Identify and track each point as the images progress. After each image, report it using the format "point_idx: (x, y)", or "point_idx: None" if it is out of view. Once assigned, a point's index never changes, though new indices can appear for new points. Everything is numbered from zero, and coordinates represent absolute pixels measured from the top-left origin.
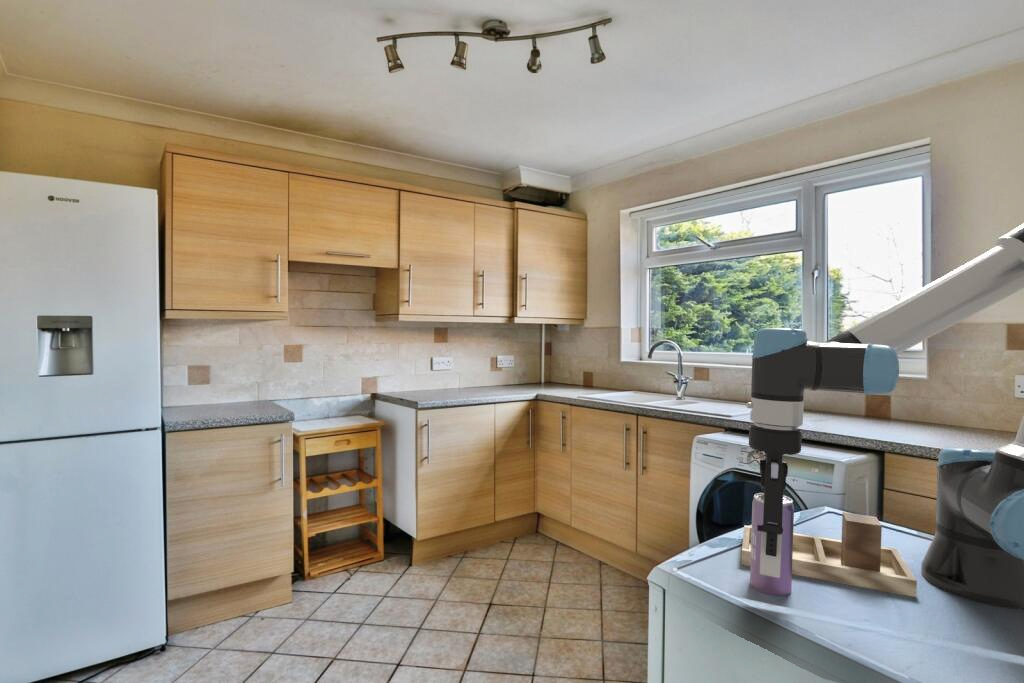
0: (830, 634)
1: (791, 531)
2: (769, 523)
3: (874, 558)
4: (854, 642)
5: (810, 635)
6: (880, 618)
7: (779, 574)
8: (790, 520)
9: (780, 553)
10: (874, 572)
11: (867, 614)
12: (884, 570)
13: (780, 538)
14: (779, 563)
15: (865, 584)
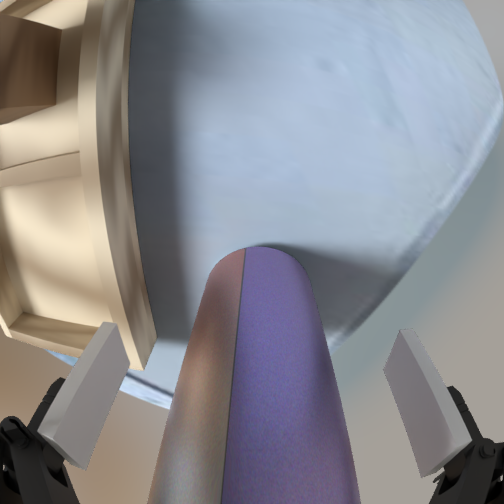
0: (433, 176)
1: (314, 423)
2: (496, 478)
3: (23, 32)
4: (447, 134)
5: (445, 219)
6: (295, 29)
7: (416, 336)
8: (331, 485)
9: (444, 385)
10: (95, 17)
11: (286, 54)
12: None
13: (463, 428)
14: (429, 361)
15: (119, 45)
